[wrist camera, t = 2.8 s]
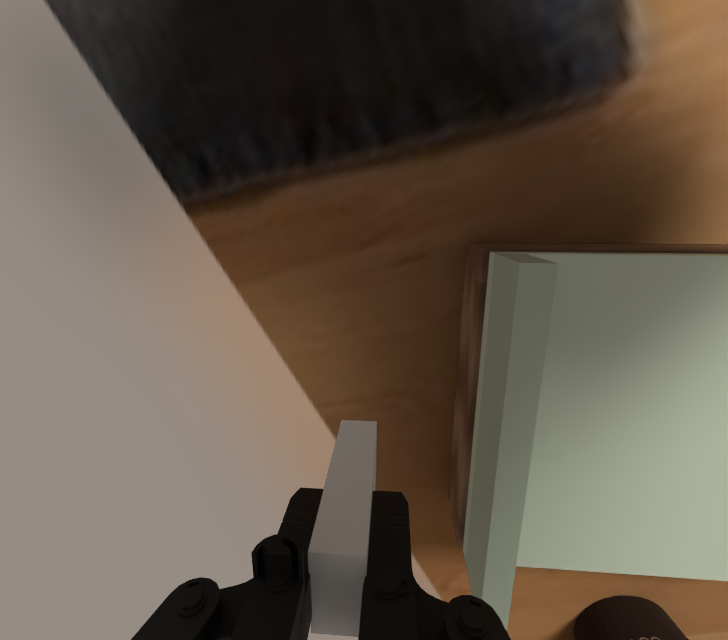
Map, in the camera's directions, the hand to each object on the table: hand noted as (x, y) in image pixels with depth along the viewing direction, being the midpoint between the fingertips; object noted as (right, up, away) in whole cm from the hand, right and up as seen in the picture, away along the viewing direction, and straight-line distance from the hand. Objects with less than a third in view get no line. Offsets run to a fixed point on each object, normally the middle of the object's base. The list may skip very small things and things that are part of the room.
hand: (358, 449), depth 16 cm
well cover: (+15, +1, +1) cm, 15 cm away
